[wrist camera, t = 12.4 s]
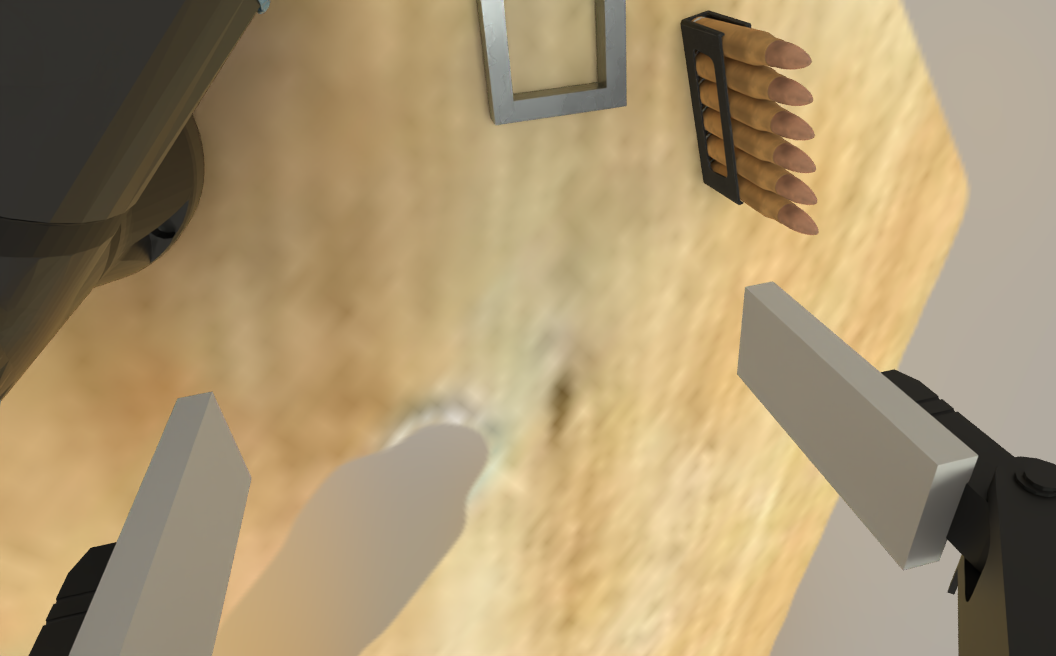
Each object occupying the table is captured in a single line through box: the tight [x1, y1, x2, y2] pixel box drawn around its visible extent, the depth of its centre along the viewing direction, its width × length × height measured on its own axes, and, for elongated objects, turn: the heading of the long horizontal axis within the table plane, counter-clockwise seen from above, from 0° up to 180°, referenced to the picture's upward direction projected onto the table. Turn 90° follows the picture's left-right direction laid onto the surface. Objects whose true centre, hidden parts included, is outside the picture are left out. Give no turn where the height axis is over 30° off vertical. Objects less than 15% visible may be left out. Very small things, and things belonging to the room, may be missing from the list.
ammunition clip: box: [681, 11, 819, 235], centre depth 36 cm, size 11×2×12 cm, turn 17°
